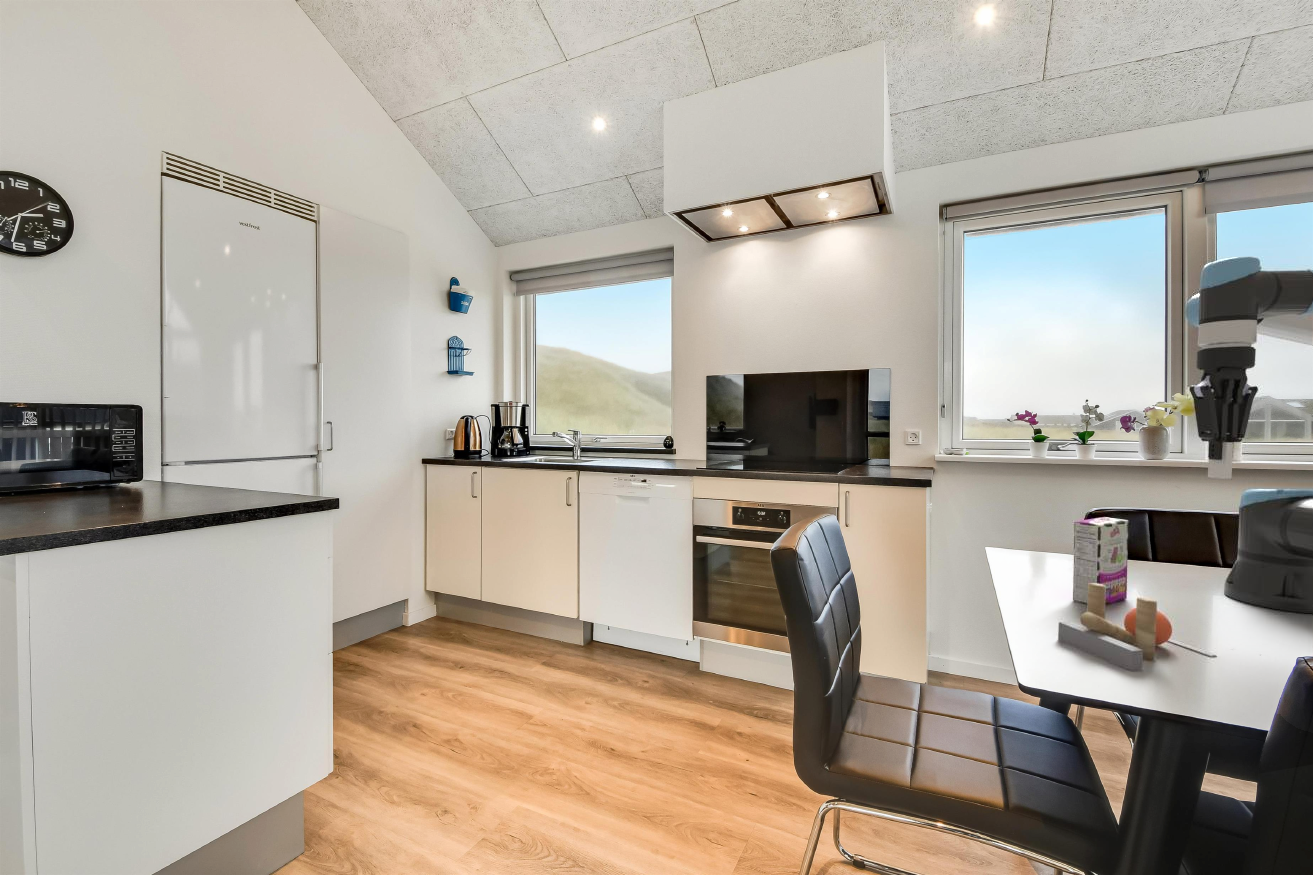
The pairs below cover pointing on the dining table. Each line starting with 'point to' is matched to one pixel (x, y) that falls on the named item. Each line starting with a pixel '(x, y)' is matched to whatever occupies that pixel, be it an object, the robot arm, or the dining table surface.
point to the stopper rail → (1101, 645)
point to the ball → (1161, 626)
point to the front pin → (1106, 628)
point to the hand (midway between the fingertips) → (1219, 477)
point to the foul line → (1191, 648)
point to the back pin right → (1096, 599)
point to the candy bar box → (1100, 557)
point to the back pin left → (1146, 627)
